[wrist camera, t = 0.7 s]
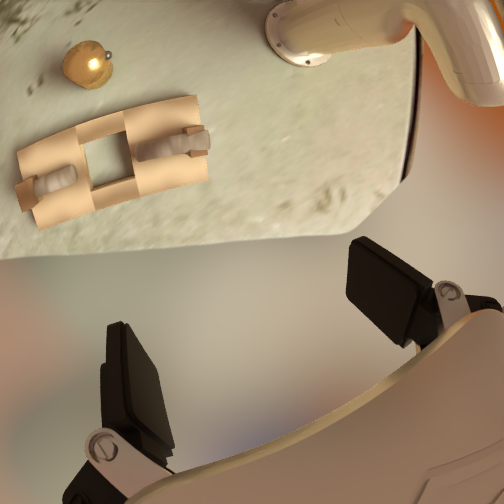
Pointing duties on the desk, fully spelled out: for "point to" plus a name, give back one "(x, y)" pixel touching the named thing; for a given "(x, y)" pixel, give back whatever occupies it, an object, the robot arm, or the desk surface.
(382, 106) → the desk surface
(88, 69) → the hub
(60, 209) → the shaft jig
